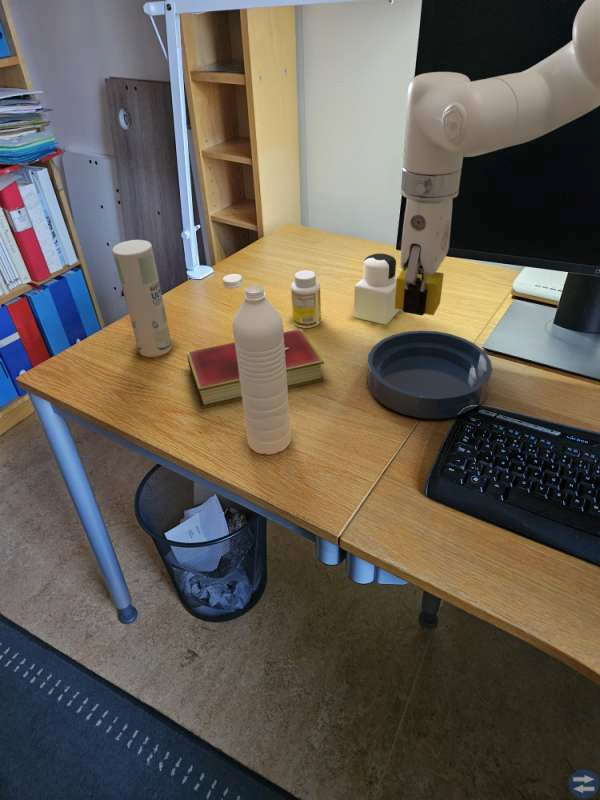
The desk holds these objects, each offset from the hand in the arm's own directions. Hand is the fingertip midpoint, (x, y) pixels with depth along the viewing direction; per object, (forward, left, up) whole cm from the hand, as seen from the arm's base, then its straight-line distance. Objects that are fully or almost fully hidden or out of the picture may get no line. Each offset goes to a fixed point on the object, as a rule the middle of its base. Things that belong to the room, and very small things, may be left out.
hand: (418, 304), depth 84 cm
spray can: (+47, +6, -15) cm, 50 cm away
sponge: (0, 0, 0) cm, 0 cm away
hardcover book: (+25, +7, -15) cm, 30 cm away
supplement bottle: (+24, -13, -15) cm, 31 cm away
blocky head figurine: (+12, -21, -15) cm, 28 cm away
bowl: (-3, -1, -15) cm, 15 cm away
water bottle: (+16, +21, -15) cm, 31 cm away
